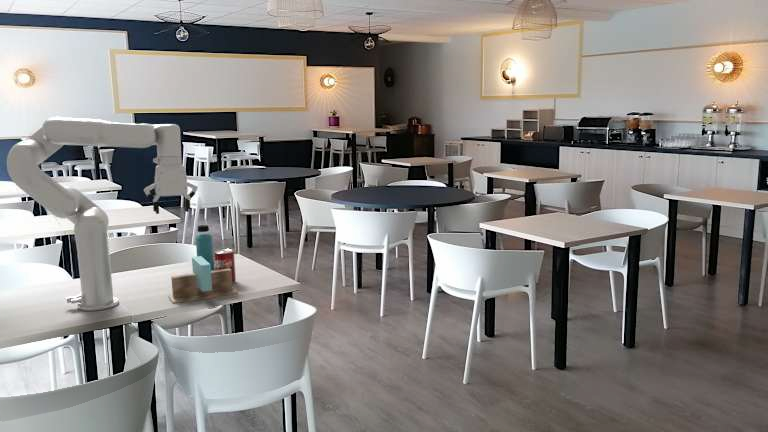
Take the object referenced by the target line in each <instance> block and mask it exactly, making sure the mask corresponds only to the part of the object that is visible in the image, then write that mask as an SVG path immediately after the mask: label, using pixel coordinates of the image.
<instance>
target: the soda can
mask: <svg viewBox="0 0 768 432" xmlns="http://www.w3.org/2000/svg"><path fill="white" fill-rule="evenodd" d="M213 253H214V264H215V265H214V267H215V270H223V269H231V270H232V285H233V284H234V283H235V282H236V281H237V280H236V264H235V263H236V261H235V251H234V250H233V249H229V248H226V249H219V250H215V251H214V252H213Z"/></svg>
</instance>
